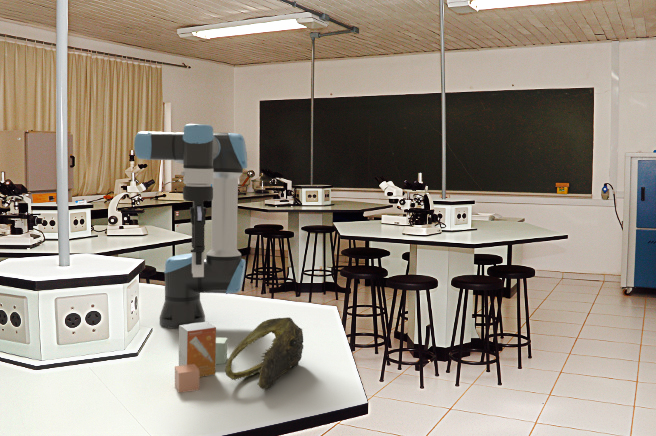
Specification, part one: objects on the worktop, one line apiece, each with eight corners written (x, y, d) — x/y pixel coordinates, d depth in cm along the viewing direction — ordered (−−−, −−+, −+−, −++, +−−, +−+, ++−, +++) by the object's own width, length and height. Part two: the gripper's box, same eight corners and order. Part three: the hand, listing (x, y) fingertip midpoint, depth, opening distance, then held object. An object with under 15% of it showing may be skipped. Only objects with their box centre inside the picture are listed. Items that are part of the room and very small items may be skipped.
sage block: (209, 357, 173) (209, 337, 172) (227, 358, 173) (227, 337, 173) (206, 363, 168) (206, 342, 168) (224, 364, 168) (224, 343, 168)
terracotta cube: (174, 385, 152) (174, 366, 152) (194, 382, 154) (194, 363, 154) (178, 393, 148) (178, 373, 147) (199, 390, 150) (199, 370, 149)
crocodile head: (257, 337, 177) (291, 305, 172) (291, 384, 172) (326, 352, 168) (201, 355, 152) (239, 318, 148) (239, 410, 147) (279, 373, 143)
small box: (186, 380, 156) (186, 331, 154) (178, 372, 161) (178, 324, 159) (216, 374, 160) (216, 326, 159) (206, 367, 165) (207, 320, 164)
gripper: (181, 183, 162) (181, 268, 165) (184, 187, 146) (184, 282, 148) (210, 183, 164) (209, 268, 167) (216, 187, 148) (215, 281, 150)
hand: (197, 274), depth 158 cm, fingers open, 4 cm apart
